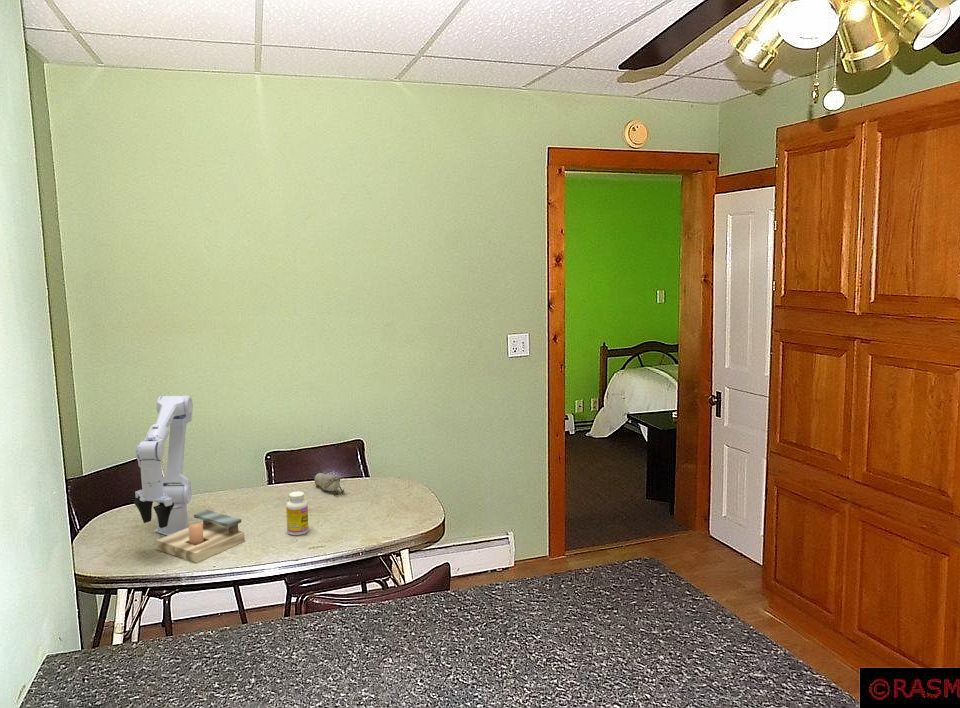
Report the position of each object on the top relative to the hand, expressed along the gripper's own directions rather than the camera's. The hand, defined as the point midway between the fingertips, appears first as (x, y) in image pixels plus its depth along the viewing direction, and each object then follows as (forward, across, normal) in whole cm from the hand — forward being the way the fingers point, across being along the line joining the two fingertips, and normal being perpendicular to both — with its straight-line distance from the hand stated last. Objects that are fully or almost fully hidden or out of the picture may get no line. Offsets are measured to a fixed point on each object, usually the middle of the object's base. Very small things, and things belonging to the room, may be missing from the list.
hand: (155, 524), depth 220 cm
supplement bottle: (+10, +24, +34) cm, 43 cm away
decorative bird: (+10, +6, +68) cm, 69 cm away
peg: (+9, +8, +8) cm, 15 cm away
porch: (+9, +6, +11) cm, 16 cm away
